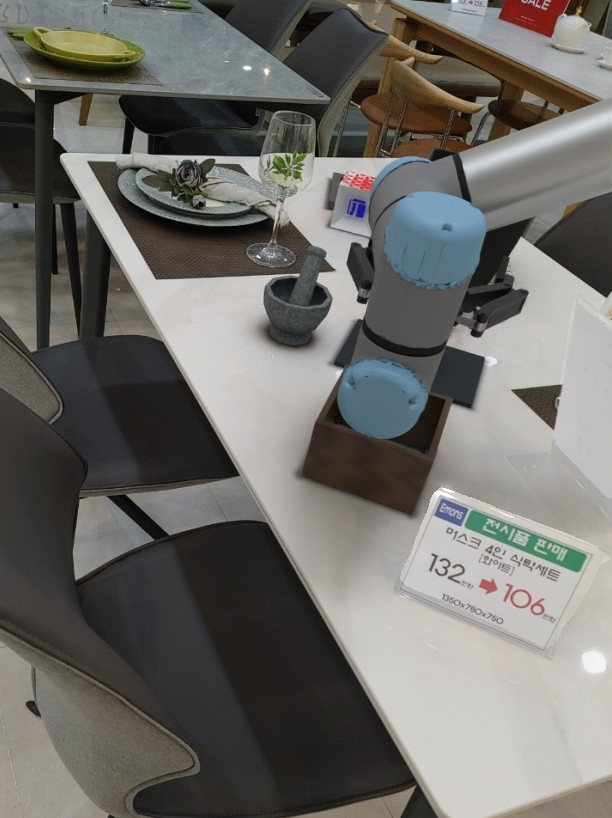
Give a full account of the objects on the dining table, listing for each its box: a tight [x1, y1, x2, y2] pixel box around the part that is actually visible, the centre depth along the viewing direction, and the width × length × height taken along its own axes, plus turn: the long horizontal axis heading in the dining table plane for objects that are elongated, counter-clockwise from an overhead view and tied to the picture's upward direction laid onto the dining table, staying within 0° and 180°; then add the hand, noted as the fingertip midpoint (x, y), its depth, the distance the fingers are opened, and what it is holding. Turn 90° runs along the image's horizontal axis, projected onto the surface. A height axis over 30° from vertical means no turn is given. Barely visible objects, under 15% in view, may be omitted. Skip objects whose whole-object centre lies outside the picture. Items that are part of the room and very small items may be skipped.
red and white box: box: [329, 170, 376, 238], centre depth 144 cm, size 8×8×8 cm
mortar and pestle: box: [262, 245, 334, 347], centre depth 110 cm, size 11×9×12 cm
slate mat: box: [333, 318, 486, 409], centre depth 112 cm, size 20×14×1 cm
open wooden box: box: [301, 364, 453, 515], centre depth 91 cm, size 14×14×8 cm
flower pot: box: [427, 147, 533, 288], centre depth 131 cm, size 19×19×17 cm
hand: (446, 251), depth 91 cm, fingers open, 13 cm apart
